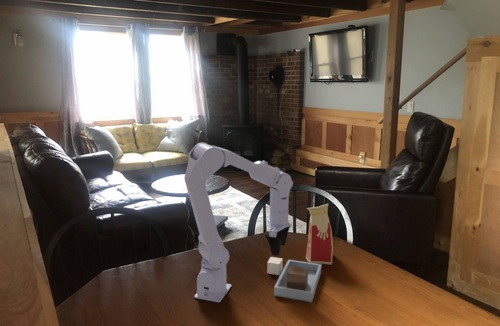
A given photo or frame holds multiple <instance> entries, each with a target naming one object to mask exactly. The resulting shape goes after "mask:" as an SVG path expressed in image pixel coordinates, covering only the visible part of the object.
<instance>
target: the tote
mask: <svg viewBox="0 0 500 326" xmlns="http://www.w3.org/2000/svg"><path fill="white" fill-rule="evenodd" d="M290 266H294V267H301V268H307V269H308V284H307V287H306V289H305V291H303V290H297V289H291V288H287V271H288V269H289V267H290ZM322 266H323V264H320V263H309V262H308V261H302V260H301V261H300V260H294V259H288V260H287V261H286V263H285V265H284V267H283V268H282V271H281V273H280V275H279V277H278V278H277V281H276V283H275V285H274V286H273V297H279V298H285V299H290V300H295V301H301V302H306V303H313V300H314V297H315V294H316V290H317V288H318V285H319V281H320V278H321V275H322V269H323V268H322Z"/></svg>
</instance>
